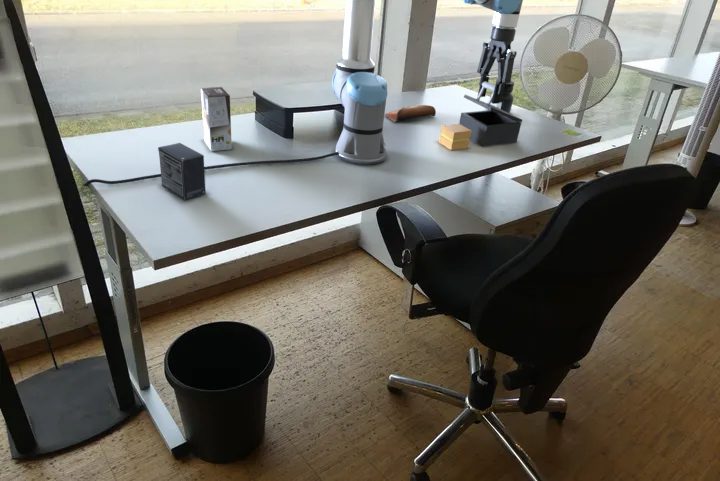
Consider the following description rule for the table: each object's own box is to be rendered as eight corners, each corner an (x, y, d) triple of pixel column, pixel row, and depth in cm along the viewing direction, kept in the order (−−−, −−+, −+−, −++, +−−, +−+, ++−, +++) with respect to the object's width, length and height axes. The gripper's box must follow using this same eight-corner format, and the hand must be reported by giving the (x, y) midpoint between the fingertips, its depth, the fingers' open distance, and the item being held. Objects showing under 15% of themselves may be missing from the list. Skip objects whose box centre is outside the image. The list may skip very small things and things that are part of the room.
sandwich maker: (482, 146, 183) (487, 126, 179) (457, 132, 193) (461, 112, 189) (516, 142, 189) (521, 122, 186) (490, 128, 200) (494, 109, 196)
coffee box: (232, 149, 162) (230, 95, 153) (210, 151, 159) (207, 96, 151) (224, 138, 169) (222, 86, 160) (203, 140, 166) (199, 87, 157)
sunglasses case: (421, 109, 210) (429, 97, 205) (429, 123, 208) (438, 111, 202) (383, 114, 201) (390, 101, 195) (392, 129, 198) (399, 117, 193)
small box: (207, 194, 136) (205, 154, 131) (184, 201, 132) (181, 161, 127) (183, 179, 142) (180, 141, 137) (160, 186, 138) (156, 146, 132)
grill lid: (490, 110, 176) (500, 87, 174) (463, 97, 186) (473, 75, 184) (521, 122, 186) (532, 101, 183) (494, 109, 196) (504, 89, 193)
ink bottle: (483, 107, 221) (490, 77, 215) (504, 108, 223) (510, 78, 217) (492, 115, 213) (499, 84, 207) (513, 116, 215) (521, 85, 209)
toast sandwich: (451, 150, 177) (454, 132, 174) (438, 142, 182) (441, 125, 179) (468, 148, 180) (471, 130, 177) (455, 140, 185) (458, 123, 182)
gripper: (535, 33, 166) (516, 108, 177) (493, 20, 180) (478, 90, 192) (516, 33, 162) (498, 109, 174) (475, 20, 177) (461, 91, 188)
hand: (488, 99), depth 183 cm, fingers closed on grill lid, 6 cm apart
